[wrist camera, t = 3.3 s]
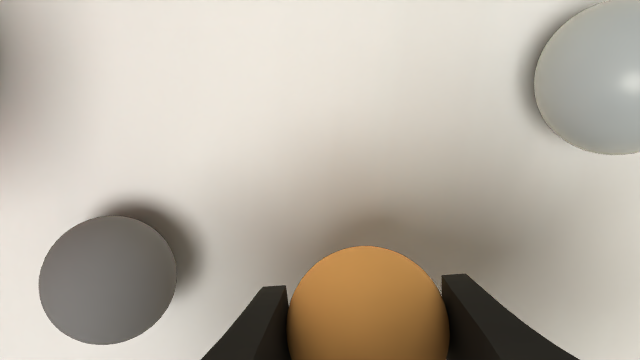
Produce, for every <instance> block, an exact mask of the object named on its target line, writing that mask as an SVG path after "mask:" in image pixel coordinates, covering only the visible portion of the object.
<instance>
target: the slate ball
mask: <svg viewBox="0 0 640 360" xmlns="http://www.w3.org/2000/svg"><path fill="white" fill-rule="evenodd" d="M534 91H535V98H536V102H537V106H538V109H539V111H540V113H541V115H542V117H543V118H544V120H545V121H546V123H547V124H548V126H549V127H550V128H551V129H552V130H553V131H554V132H555V133H556V134H557V135H558V136H559V137H561V138H562V139H563V140H564V141H566V142H568V143H570V144H571V145H573V146H576V147H578V148H580V149H583V150H585V151H589V152H593V153H598V154H606V155H625V154H633V153H637V152H640V0H609V1H606V2H602V3H599V4H597V5H594V6H592V7H590V8H587V9H585V10H583V11H582V12H580V13H578V14H576V15H575V16H574V17H572V18H571V19H570V20H568V21H567V22H566V23H565V24H564V25H562V26H561V27H560V28H559V29H558V30H557V31H556V32H555V34H554V35H553V36H552V37H551V38H550V40H549V41H548V43H547V44H546V46H545V48H544V49H543V51H542V53H541V55H540V58H539V60H538V63H537V67H536V71H535V78H534Z"/></svg>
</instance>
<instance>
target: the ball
mask: <svg viewBox="0 0 640 360" xmlns="http://www.w3.org/2000/svg"><path fill="white" fill-rule="evenodd" d="M286 334H287V343H288V348H289V353H290V356H291V359H292V360H446V357H447V353H448V348H449V339H450V330H449V319H448V315H447V311H446V307H445V304H444V301H443V299H442V296H441V294H440V292H439V290H438V289H437V287H436V285H435V284H434V282H433V281H432V280H431V279H430V277H429V276H428V275H427V274H426V273H425V271H424V270H423V269H421V268H420V267H419V266H418V265H417V264H416V263H414V262H413V261H411V260H410V259H408V258H407V257H405V256H403V255H401V254H399V253H397V252H394V251H392V250H389V249H385V248H380V247H374V246H357V247H350V248H346V249H342V250H340V251H337V252H335V253H332V254H330V255H329V256H327V257H325V258H323V259H322V260H320V261H319V262H318V263H316V264H315V265H314V266H313V267H312V268H311V269H310V270H309V271H308V272H307V273H306V274H305V276H304V277H303V278H302V279H301V281H300V283H299V284H298V286H297V288H296V290H295V292H294V294H293V296H292V299H291V302H290V306H289V309H288V313H287V324H286Z"/></svg>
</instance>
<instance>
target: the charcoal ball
mask: <svg viewBox="0 0 640 360" xmlns="http://www.w3.org/2000/svg"><path fill="white" fill-rule="evenodd" d="M176 281H177V269H176V262H175V259H174V256H173V253H172V251H171V249H170V247H169V245H168V243H167V242H166V241H165V239H164V238H163V237H162V236H161V235H160V234H159V233H158V232H157V231H156V230H154V229H153V228H152V227H150V226H149V225H147V224H145V223H143V222H141V221H139V220H136V219H133V218H129V217H124V216H103V217H98V218H94V219H90V220H87V221H85V222H83V223H80V224H78V225H76V226H75V227H73V228H71V229H70V230H68V231H67V232H66V233H65V234H63V235H62V236H61V237H60V238H59V239H58V240H57V241H56V242H55V244H54V245H53V246H52V247H51V249H50V250H49V252H48V254H47V255H46V257H45V259H44V262H43V265H42V267H41V271H40V276H39V294H40V300H41V304H42V306H43V309H44V311H45V313H46V315H47V316H48V318H49V319H50V321H51V322H52V323H53V324H54V325H55V326H56V327H57V328H58V329H59V330H60V331H61V332H63V333H64V334H66V335H67V336H69V337H71V338H73V339H75V340H78V341H81V342H84V343H88V344H96V345H109V344H116V343H120V342H124V341H127V340H130V339H132V338H134V337H137V336H138V335H140V334H142V333H143V332H145V331H146V330H148V329H149V328H150V327H152V326H153V325H154V324H155V323H156V322H157V321H158V320H159V319H160V318H161V316H162V315H163V314H164V312H165V311H166V309H167V308H168V306H169V304H170V302H171V300H172V298H173V295H174V292H175V287H176Z"/></svg>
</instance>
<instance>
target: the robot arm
mask: <svg viewBox="0 0 640 360" xmlns="http://www.w3.org/2000/svg"><path fill="white" fill-rule="evenodd" d="M442 299H443V301H444V304H445V307H446V311H447V315H448V319H449V330H450V339H449V348H448V353H447V357H446V360H579V359H577V358H576V357H574V356H572V355H571V354H569V353H567V352H566V351H564V350H562V349H561V348H559V347H558V346H556V345H555V344H553V343H552V342H550V341H549V340H547V339H546V338H544V337H543V336H542V335H540V334H539V333H537V332H536V331H535V330H533V329H532V328H530V327H529V326H528V325H526V324H525V323H524V322H522V321H521V320H520V319H518V318H517V317H516V316H515V315H513V314H512V313H511V312H510V311H508V310H507V309H506V308H505V307H503V306H502V305H501V304H500V303H499V302H497V301H496V300H495V299H494V298H493V297H492V296H491V295H489V294H488V293H487V292H486V291H485V290H484V289H483V288H481V287H480V286H479V285H478V284H477V283H476V282H475V281H473V280H472V279H471V278H470V277H469V276H468V275H467V274H455V275H442ZM288 309H289V305H288V297H287V290H286V285H284V286H268V287H262V288H261V290H260V291H259V292H258V293H257V294H256V296H255V297H254V298H253V300H252V301H251V302H250V304H249V305H248V306H247V307H246V309H245V310H244V311H243V312H242V314H241V315H240V316H239V317H238V319H237V320H236V321H235V322H234V323H233V325H232V326H231V327H230V328H229V329H228V331H227V332H226V333H225V334H224V335H223V336H222V338H221V339H220V340H219V341H218V342H217V343H216V344H215V345H214V346H213V347H212V348H211V349H210V350H209V351H208V353H207V354H206V355H205V356H204V357H203V358H202V359H201V360H292V359H291V356H290V353H289V348H288V343H287V334H286V324H287V313H288Z"/></svg>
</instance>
